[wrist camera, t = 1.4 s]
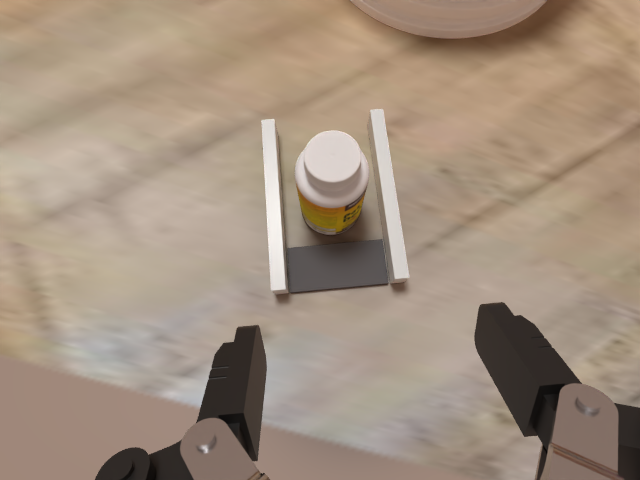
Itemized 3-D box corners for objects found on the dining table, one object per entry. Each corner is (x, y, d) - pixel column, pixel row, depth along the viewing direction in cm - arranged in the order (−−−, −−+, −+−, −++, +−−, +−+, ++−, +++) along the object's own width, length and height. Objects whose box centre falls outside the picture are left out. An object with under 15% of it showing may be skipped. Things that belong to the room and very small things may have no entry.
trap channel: (403, 282, 33) (409, 277, 31) (275, 294, 33) (271, 290, 30) (379, 123, 37) (382, 108, 35) (265, 134, 37) (261, 120, 35)
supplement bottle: (345, 246, 34) (352, 207, 24) (291, 221, 35) (276, 173, 25) (370, 194, 35) (386, 137, 25) (317, 172, 36) (313, 107, 26)
